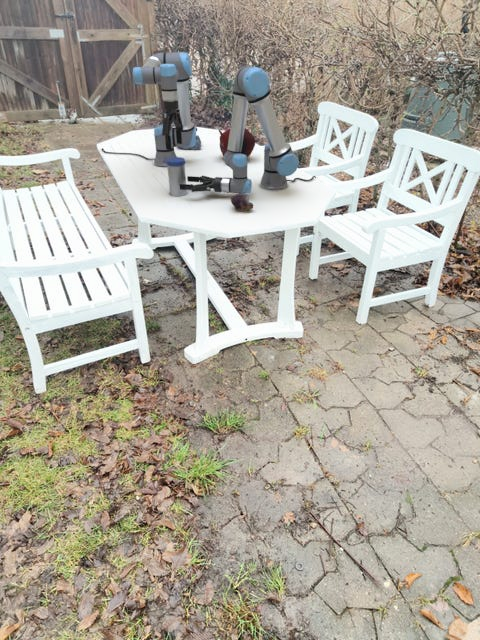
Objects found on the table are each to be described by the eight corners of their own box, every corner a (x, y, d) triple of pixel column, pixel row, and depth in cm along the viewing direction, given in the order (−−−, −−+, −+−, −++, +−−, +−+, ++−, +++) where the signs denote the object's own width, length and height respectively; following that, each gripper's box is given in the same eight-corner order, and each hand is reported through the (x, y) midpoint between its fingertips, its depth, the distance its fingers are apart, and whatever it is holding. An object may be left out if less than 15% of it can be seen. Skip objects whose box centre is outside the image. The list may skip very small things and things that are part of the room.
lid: (171, 167, 231) (170, 163, 230) (163, 163, 238) (163, 159, 237) (188, 164, 236) (188, 160, 235) (180, 160, 243) (179, 156, 241)
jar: (174, 197, 241) (171, 163, 231) (167, 192, 247) (164, 159, 237) (189, 194, 245) (187, 161, 235) (182, 189, 251) (179, 157, 241)
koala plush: (201, 150, 322) (199, 120, 311) (176, 150, 321) (173, 121, 310) (201, 144, 336) (199, 116, 325) (177, 144, 335) (174, 116, 324)
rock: (244, 206, 231) (227, 209, 227) (243, 189, 228) (226, 192, 224) (256, 210, 222) (238, 213, 218) (255, 192, 218) (237, 195, 214)
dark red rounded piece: (216, 132, 305) (216, 129, 282) (250, 124, 304) (252, 121, 281) (223, 164, 312) (223, 164, 288) (256, 157, 311) (259, 156, 288)
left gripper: (174, 96, 230) (177, 140, 242) (151, 103, 211) (156, 151, 224) (187, 96, 228) (190, 141, 240) (166, 104, 209) (170, 152, 222)
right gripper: (216, 199, 229) (177, 197, 233) (227, 184, 249) (191, 182, 253) (216, 185, 225) (175, 182, 229) (227, 170, 245) (190, 168, 249)
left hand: (174, 146), depth 232 cm, fingers open, 12 cm apart
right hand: (183, 182), depth 241 cm, fingers open, 13 cm apart
